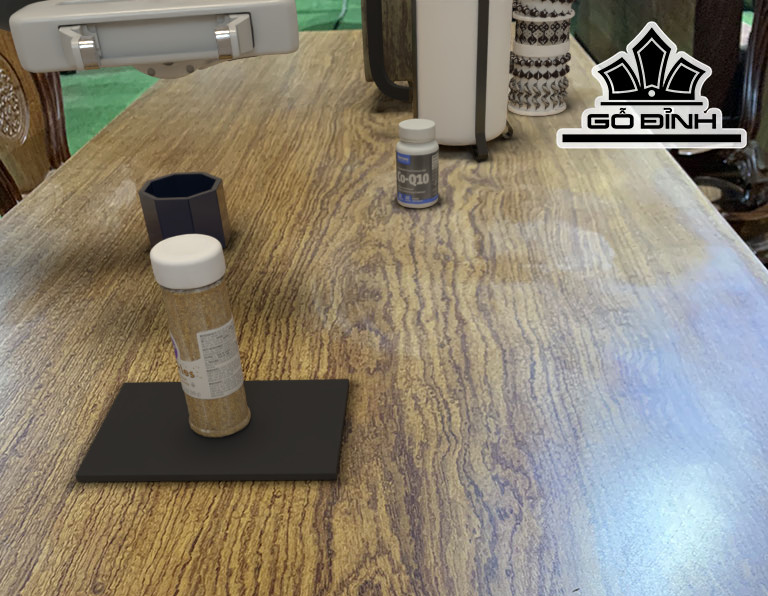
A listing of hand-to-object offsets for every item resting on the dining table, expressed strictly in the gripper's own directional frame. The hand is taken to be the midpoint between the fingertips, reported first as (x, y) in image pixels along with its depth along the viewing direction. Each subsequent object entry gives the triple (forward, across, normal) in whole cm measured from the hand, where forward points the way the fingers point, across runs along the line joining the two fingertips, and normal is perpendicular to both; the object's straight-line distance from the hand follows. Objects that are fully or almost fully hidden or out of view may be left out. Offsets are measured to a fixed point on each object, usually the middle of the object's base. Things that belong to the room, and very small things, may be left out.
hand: (157, 51), depth 55 cm
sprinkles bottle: (+12, 0, +22) cm, 25 cm away
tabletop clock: (-70, +30, +23) cm, 80 cm away
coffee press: (-47, +32, +23) cm, 62 cm away
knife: (-88, +53, +22) cm, 105 cm away
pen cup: (-24, -2, +23) cm, 33 cm away
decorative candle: (-60, +48, +22) cm, 80 cm away
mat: (+12, 0, +23) cm, 26 cm away
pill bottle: (-29, +24, +23) cm, 44 cm away
